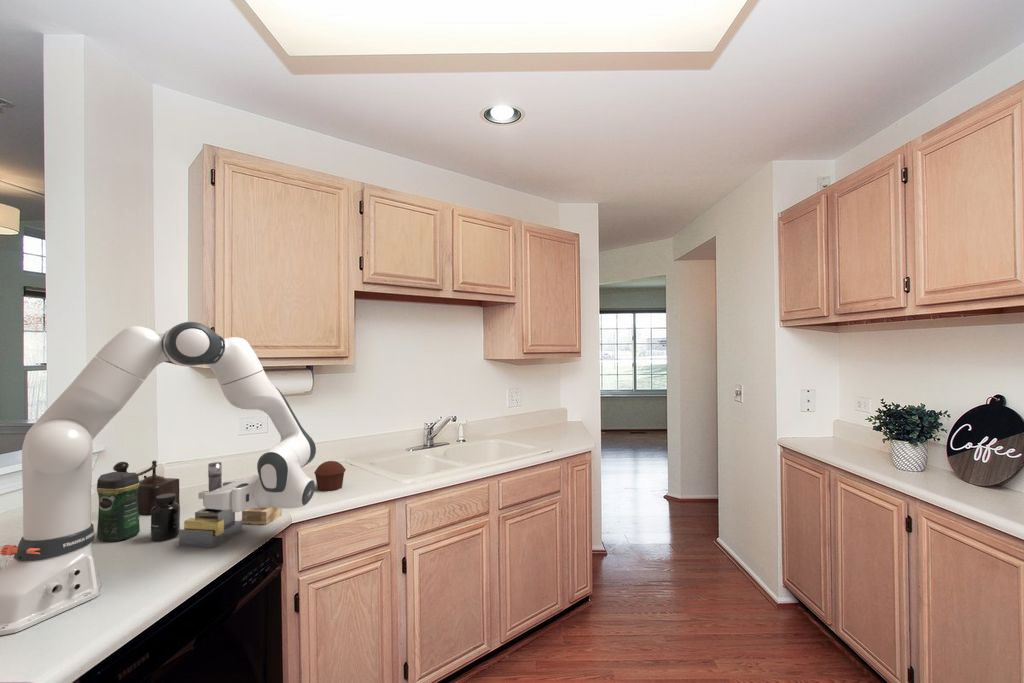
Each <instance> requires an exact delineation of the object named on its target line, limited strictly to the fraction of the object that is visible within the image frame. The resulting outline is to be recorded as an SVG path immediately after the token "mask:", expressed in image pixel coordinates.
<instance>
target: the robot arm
mask: <svg viewBox="0 0 1024 683" xmlns="http://www.w3.org/2000/svg"><path fill="white" fill-rule="evenodd" d="M162 363H168V364H170V365H171V364H172V365H175V366H181V367H186V368H187V367H197V366H201V365H204V366H207V367H209V369H211V371H212V372H213V373H214V375H215V377H216V380H217V381H218V384H219V387H220V389H221V391H222V393H223V395H224V397H225V399H226V400H227V401H228V402H229V404H230V405H231V406H233V407H236V408H239V409H242V410H259V411H262V412H264V413H265V414H266V415H268V418H270V421H271V422H272V424H273V425H274V427H275V429H276V430H277V432H278V435H279V436H280V441H279V443H277V444H276V445H274V446H273V447H271V448H270V449H268V450H267V451H265V452H264V453H263V454H262V455H261V456H260V457H259V458H258V460H257V465H256V470H257V473H258V474H251V475H248V476H245V477H243V478H240V479H238V480H232V481H228V480H227V481H224V482H222V487H220V488H218V489H216V490H213V491H211V492H209V490H202V491H199V492H198V499H199V500H202V501H203V504H202V506H203V508H208V509H217V510H230V509H232V512H235V513H239V512H242V511H244V510H247V509H252V508H268V507H275V508H279V509H283V510H284V509H287V510H288V509H289V510H290V509H291V510H292V509H299V508H304V507H305V506H306V505H308V504H309V502H310V501H311V500H312V498H313V496H314V493H315V491H316V490H315V488H316V483H315V480H313V479H312V478H310V477H309V476H307V475H306V473H305V472H304V471H303V469H302V468H303V467H305V466H307V465H308V464H310V463H312V461H313V460H314V459H315V456H316V453H317V447H316V444H315V441H314V440H313V438H312V437H311V436H310V434H309V433H307V431H306V430H305V429H304V428H303V426H302V424H301V423H300V421H299V419H298V418H297V416H296V414H295V413H294V411H293V409H292V408H291V406H290V404H289V402H288V400H287V398H286V397H285V396H284V394H283V393H282V391H280V389H279V388H278V387H276V386H274V385H273V383H272V382H271V381H270V379H269V377H268V375H267V374H266V372H265V369H264V368H263V366H262V363H261V361H260V359H259V358H258V355H257V354H256V352H255V351H254V348H252V346H251V344H250V343H249V342H248V340H246V339H244V338H242V337H237V336H234V337H233V336H231V337H225V338H223V337H222V336H221V335H219V334H218V333H216V332H215V331H214V330H212V328H210V327H209V326H207V325H205V324H203V323H199V322H196V321H186V322H184V321H183V322H182V323H179V324H176V325H174V326H172V327H171V328H169V329H168V330H166V331H163V332H157V331H154V329H153V330H152V329H150V328H149V327H145V326H140V325H130V326H127V327H125V328H124V329H122V330H121V331H119V332H118V333H117V334H116V335H115V336H114V337H112V339H110V340H109V341H107V343H106V344H105V345H104V346H103V347H102V348H101V349H100V350H99V351H98V352H97V353H96V354H95V355H94V356H93V357H92V359H91V360H90V361H89V363H88V364H87V365H86V366H85V367H84V368H83V370H82V371H80V373H79V374H78V375H77V376H76V377H75V378H74V380H73V381H72V382H71V383H70V384H69V385H68V386H67V388H65V389H64V391H63V392H62V393H61V394H60V395H59V396H58V397H57V398H56V399H55V401H53V403H52V404H51V405H50V406H49V407H48V408H47V409H46V410H45V411H44V413H43V414H41V416H40V417H39V418H37V420H36V421H35V422H34V424H32V426H30V428H29V429H28V431H27V433H26V434H25V436H24V438H23V439H24V440H23V443H22V448H21V471H22V473H21V474H22V475H21V476H22V477H21V478H22V481H21V482H22V510H23V511H22V522H23V523H22V527H23V528H22V536H21V538H20V540H19V542H18V545H14V544H13V545H11V544H5V545H3V546H2V547H1V548H0V555H1V556H9V557H10V556H13V559H12V560H11V561H10V562H9V563H8V564H7V565H6V566H5V567H4V568H3V569H2V570H1V571H0V636H4V635H10V634H15V633H18V632H20V631H23V630H25V629H27V628H30V627H32V626H34V625H36V624H39V623H41V622H43V621H45V620H47V619H50V618H52V617H55V616H57V615H60V614H61V613H64V612H66V611H68V610H70V609H72V608H75V607H77V606H79V605H82V604H84V603H86V602H88V601H91V600H93V599H95V598H97V597H99V596H100V588H101V585H102V582H101V580H100V577H99V575H98V571H97V567H96V564H95V562H96V561H95V557H94V552H93V542H94V540H95V530H94V528H95V527H94V523H92V481H93V480H92V478H93V440H94V439H95V438H96V437H97V436H98V435H99V433H100V432H102V430H103V429H104V428H105V427H106V426H107V425H108V423H110V422H111V420H112V419H113V418H114V417H115V416H116V415H118V414H119V412H121V411H122V409H123V408H124V407H125V406H126V404H127V403H128V402H129V400H131V398H133V395H134V394H135V393H136V392H137V390H138V389H140V387H141V385H142V384H143V383H144V382H145V381H146V379H147V378H148V377H149V375H150V374H151V373H152V372H153V370H155V369H156V367H158V366H159V365H160V364H162Z"/></svg>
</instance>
